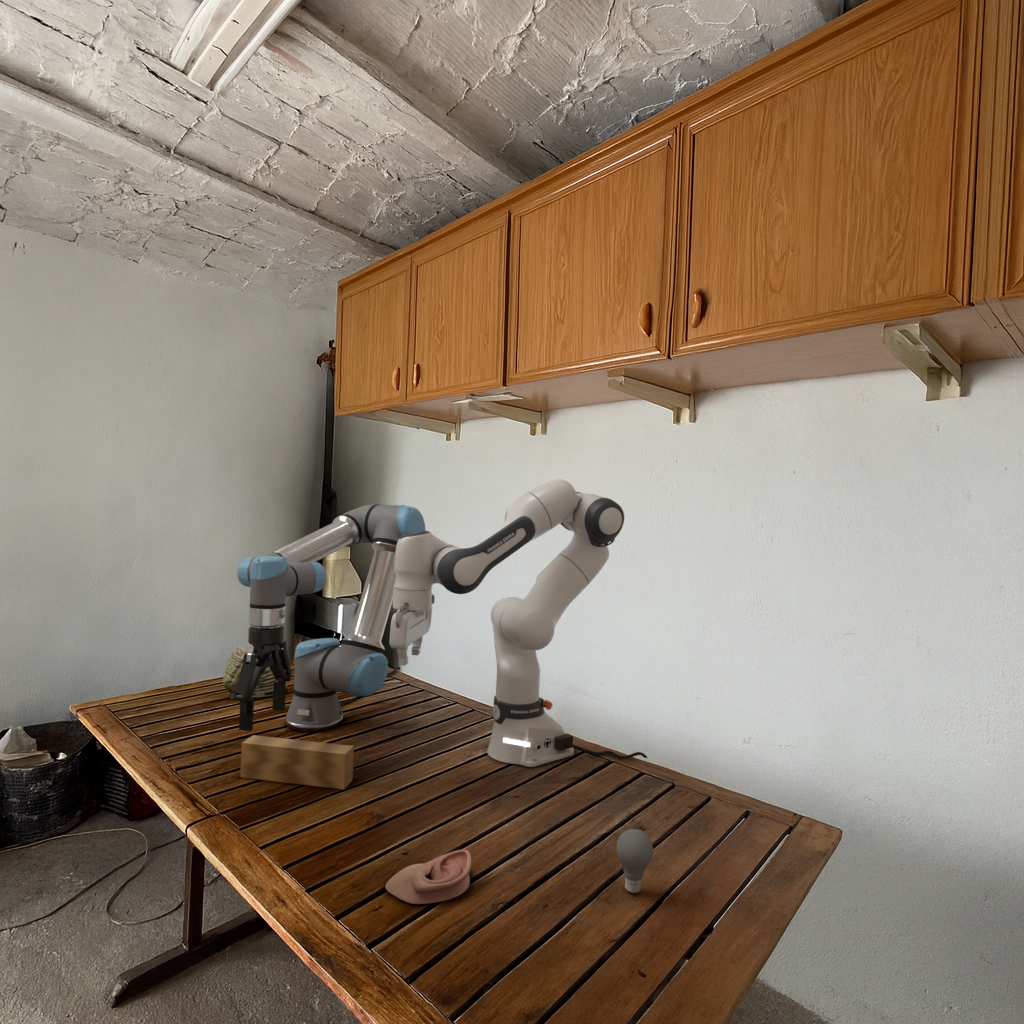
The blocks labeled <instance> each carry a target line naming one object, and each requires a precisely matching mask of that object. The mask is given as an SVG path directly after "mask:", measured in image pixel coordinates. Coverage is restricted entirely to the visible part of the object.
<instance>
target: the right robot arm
mask: <svg viewBox="0 0 1024 1024" xmlns="http://www.w3.org/2000/svg"><path fill="white" fill-rule="evenodd" d="M624 524H625V512H624V510H623V508H622V507H621V505H620V504H619V503H617V502H616V501H614V500H613V499H611V498H608V497H604V496H602V495H598V494H595V493H583V492H580V491H577V490H576V489H575V488H574V486H573V485H572V484H571V483H570V482H569V481H567V480H565V479H561V478H558V479H554V480H551V481H548V482H546V483H543V484H541V485H539V486H537V487H535V488H532V489H531V490H529V491H528V492H526V493H523V494H522V495H521V496H520V497H518V498H517V499H515V500H514V501H513V502H512V503H510V504H509V506H508V507H507V508H506V509H505V512H504V524H503V525H502V527H500V528H499V529H498V530H497V531H495V532H493V533H492V534H490V535H489V536H488V537H486V538H485V539H484V540H482V541H480V542H479V543H477V544H475V545H473V546H471V547H463V548H461V547H459V546H457V545H453V544H450V543H448V542H446V541H444V540H442V539H440V538H438V537H437V536H436V535H434V534H432V532H431V531H429V530H425V531H414V532H408V533H405V534H403V535H402V536H401V537H400V538H399V539H398V542H397V546H396V552H395V565H394V570H395V574H396V579H395V583H394V588H393V601H392V608H393V609H394V610H397V612H395V613H393V615H392V617H391V621H390V629H389V630H390V631H389V646H390V647H389V648H391V649H395V650H396V652H397V656H398V665H399V666H406V665H407V664H408V663H409V656H408V650H409V647H410V646H411V645H412V647H411V655H412V656H419V655H420V654H421V649H422V643H423V640H424V635H426V634H428V633H429V632H430V628H431V625H432V623H431V622H432V617H433V605H434V604H435V599H436V596H435V594H433V591H432V590H433V585H434V584H439V585H440V586H443V587H444V588H445V589H446V590H447V591H448V592H450V593H452V594H455V595H466V594H469V593H471V592H473V591H475V590H476V589H477V588H478V587H479V586H480V585H481V583H482V582H483V581H484V579H485V577H486V576H487V575H488V574H489V573H490V571H492V569H494V568H495V567H496V566H497V565H499V564H501V562H503V561H505V560H507V558H509V557H511V555H513V554H514V553H516V552H517V551H518V550H520V549H521V548H523V547H524V546H525V545H527V544H529V543H530V542H532V541H534V540H537V539H538V538H540V537H541V536H543V535H545V534H546V533H549V532H550V531H552V530H554V528H556V527H557V526H558V525H561V526H562V527H563V528H564V529H566V530H568V531H570V532H573V535H572V538H571V539H570V542H569V543H568V544H567V546H566V547H565V548H564V549H562V550H561V551H560V552H559V553H558V554H557V555H556V556H555V557H554V558H553V559H551V561H550V562H549V563H548V564H547V565H546V566H545V567H544V568H543V569H542V570H541V571H540V572H539V573H538V574H537V575H536V578H535V579H536V580H535V582H534V584H533V586H532V587H531V589H530V590H529V592H528V594H527V595H526V596H525V597H524V598H521V597H518V596H507V597H503V598H500V599H499V600H497V601H496V602H495V603H494V605H492V608H491V611H490V621H491V624H492V632H493V641H494V651H495V660H496V681H495V682H496V683H495V695H494V697H493V708H492V717H493V719H492V720H493V724H492V730H491V736H490V738H489V743H488V746H487V749H486V753H487V755H488V756H489V757H490V758H491V759H493V760H495V761H498V762H501V763H505V764H511V765H519V766H523V767H527V768H535V767H539V766H541V765H544V764H545V765H546V764H548V763H552V762H555V761H558V760H561V759H565V758H568V757H572V756H574V755H575V749H576V750H578V751H579V750H580V751H582V752H584V753H585V752H586V753H588V754H590V755H593V756H603V755H611V756H613V757H615V758H616V759H620V760H627V759H631V758H633V757H636V756H641V757H643V758H644V759H648V755H646V754H645V753H643V752H641V751H636V752H632V753H630V754H628V755H620V754H618V753H616V752H614V751H611V750H603V751H593V750H590V749H588V748H586V747H582V746H580V745H576V744H574V735H572V734H570V733H568V732H567V733H565V730H564V727H563V726H562V725H561V724H560V723H559V722H558V721H557V720H555V719H554V718H553V717H552V716H551V715H550V714H548V713H547V712H546V711H545V709H546V710H547V711H550V710H551V709H552V708H553V706H554V705H553V702H552V701H549V700H548V699H544V698H542V697H541V696H540V683H541V666H540V663H539V660H538V655H537V651H540V650H543V649H544V648H546V647H547V646H549V644H550V643H551V642H552V641H553V639H554V638H553V637H554V634H555V628H556V626H557V625H558V623H559V621H560V620H561V618H562V616H563V614H564V613H565V611H566V610H567V608H568V607H569V606H570V605H571V603H572V602H573V601H574V600H575V599H576V598H578V596H579V595H580V594H582V592H583V591H584V590H585V589H586V588H587V587H588V586H589V585H590V584H591V582H593V580H595V578H596V577H597V576H598V575H599V574H600V572H601V571H602V569H603V568H604V566H605V565H606V563H607V562H608V559H609V558H610V550H609V547H608V546H610V545H612V544H613V543H614V542H615V540H616V538H617V537H618V535H619V534H620V532H621V531H622V529H623V526H624Z"/></svg>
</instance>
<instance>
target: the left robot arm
mask: <svg viewBox="0 0 1024 1024" xmlns="http://www.w3.org/2000/svg"><path fill="white" fill-rule="evenodd" d="M414 531H426V522H425V519H424V516H423V514H422V512H421V511H420V510H419V509H418V508H417V507H414V506H410V505H405V504H401V505H397V504H380V503H379V504H378V503H372V504H371V503H370V504H366V505H362V506H360V507H357V508H353V509H351V510H349V511H347V512H345V513H342V514H340V515H338V516H337V517H335V518H334V519H333V521H332V523H330V524H327V525H325V526H323V527H322V528H319V529H317V530H316V531H313V532H311V533H309V534H307V535H305V536H303V537H301V538H298V539H297V540H295V541H293V542H291V543H288V544H286V545H285V546H283V547H280V548H278V549H276V550H274V551H272V552H270V553H267V554H266V555H261V556H251V557H246V558H244V559H242V561H240V563H239V565H238V566H237V571H236V572H237V573H236V577H237V580H238V582H239V584H240V585H242V586H244V587H247V588H249V611H248V624H249V627H248V634H247V642H248V644H249V645H251V646H252V649H253V652H252V653H244V658H243V665H242V668H241V672H240V675H239V679H238V682H237V686H236V689H235V693H234V696H233V698H232V699H233V700H234V701H239V719H238V720H239V722H238V730H239V731H245V732H252V731H253V730H254V710H255V709H254V707H255V699H253V697H252V696H253V694H254V691H255V689H256V686H257V684H258V682H259V679H260V677H261V674H262V673H263V672H265V670H266V668H268V667H269V668H270V669H271V671H272V673H273V675H274V677H275V679H276V681H278V682H276V681H275V682H274V685H273V695H272V710H273V711H279V712H284V711H285V710H286V694H287V693H286V692H287V690H286V689H287V687H286V685H287V682H288V683H290V682H291V681H292V669H291V664H290V659H289V656H288V652H287V641H286V640H285V626H284V624H285V618H286V617H285V616H286V615H287V613H286V602H287V597H292V596H300V595H311V594H314V593H316V592H320V591H321V590H322V589H324V587H325V586H326V583H327V571H326V568H325V567H324V566H323V564H321V563H320V562H319V561H320V560H323V559H324V558H326V557H328V556H331V555H332V554H334V553H335V552H337V551H340V550H341V549H343V548H353V547H354V546H356V545H360V544H370V546H371V548H372V549H373V551H374V553H373V556H372V560H371V563H370V567H369V569H368V573H367V576H366V580H365V583H364V587H363V590H362V593H361V597H360V600H359V603H358V607H357V610H356V613H355V616H354V620H353V623H352V627H351V630H350V634H348V635H347V636H344V637H343V638H342V640H341V643H340V640H339V639H338V638H335V637H324V638H323V637H322V638H313V639H308V640H304V641H302V642H299V643H298V644H297V645H296V647H295V652H294V653H295V654H294V657H293V659H294V660H293V662H294V663H293V665H294V666H293V695H292V696H293V697H292V699H291V702H290V704H289V708H288V711H287V713H286V715H285V726H286V728H287V729H289V730H291V731H294V732H295V731H296V732H301V733H316V732H325V731H329V730H332V729H335V728H337V727H339V726H340V725H342V723H343V722H344V713H343V709H342V706H343V705H346V704H348V703H351V702H353V701H355V700H357V699H359V698H360V697H370V696H372V695H374V694H376V692H377V691H379V690H380V689H381V687H382V686H383V685H384V683H385V681H386V679H387V677H388V676H389V675H393V674H395V672H396V671H397V670H401V668H400V666H396V667H395V668H394V669H393V670H392V671H390V672H389V665H388V664H389V661H388V658H387V657H386V656H385V646H384V644H383V643H382V640H383V636H384V632H385V629H386V625H387V622H388V618H389V614H390V611H391V608H392V605H393V588H394V583H395V579H396V574H395V570H394V565H395V552H396V546H397V542H398V539H399V538H400V537H401V536H402V535H403V534H405V533H408V532H414ZM249 663H250V664H249ZM338 692H340V693H343V694H347V695H350V696H353V697H352V698H350V699H348V700H345V701H342V702H340V699H339V695H338ZM239 693H240V694H239Z"/></svg>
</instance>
